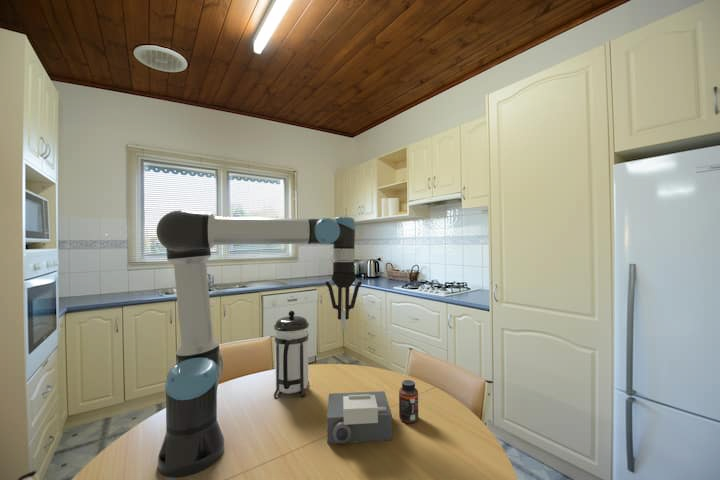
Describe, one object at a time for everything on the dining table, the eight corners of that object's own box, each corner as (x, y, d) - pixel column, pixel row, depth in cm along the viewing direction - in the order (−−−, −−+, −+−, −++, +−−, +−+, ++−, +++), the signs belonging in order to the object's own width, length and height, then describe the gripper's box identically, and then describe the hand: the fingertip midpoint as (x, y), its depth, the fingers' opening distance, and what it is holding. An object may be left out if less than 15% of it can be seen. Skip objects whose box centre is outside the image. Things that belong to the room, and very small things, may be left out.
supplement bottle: (418, 425, 94) (418, 387, 94) (398, 423, 95) (398, 386, 95) (418, 414, 100) (417, 378, 100) (399, 413, 101) (399, 377, 101)
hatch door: (343, 424, 82) (343, 406, 82) (343, 410, 89) (343, 393, 89) (377, 422, 82) (377, 404, 82) (374, 408, 89) (374, 392, 89)
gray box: (327, 448, 83) (326, 420, 84) (329, 415, 100) (328, 391, 100) (393, 445, 85) (393, 417, 85) (384, 412, 101) (384, 389, 101)
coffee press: (261, 391, 117) (261, 311, 117) (299, 378, 127) (298, 305, 128) (284, 409, 104) (283, 319, 104) (323, 393, 115) (323, 311, 115)
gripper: (361, 260, 114) (360, 325, 113) (325, 260, 113) (324, 326, 112) (363, 261, 106) (362, 331, 106) (325, 261, 105) (324, 331, 105)
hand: (343, 328), depth 109 cm, fingers closed
